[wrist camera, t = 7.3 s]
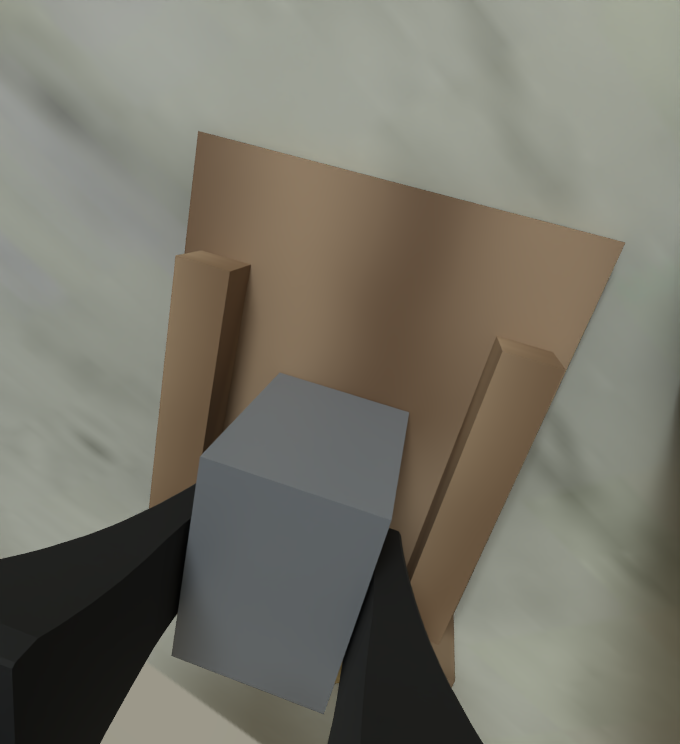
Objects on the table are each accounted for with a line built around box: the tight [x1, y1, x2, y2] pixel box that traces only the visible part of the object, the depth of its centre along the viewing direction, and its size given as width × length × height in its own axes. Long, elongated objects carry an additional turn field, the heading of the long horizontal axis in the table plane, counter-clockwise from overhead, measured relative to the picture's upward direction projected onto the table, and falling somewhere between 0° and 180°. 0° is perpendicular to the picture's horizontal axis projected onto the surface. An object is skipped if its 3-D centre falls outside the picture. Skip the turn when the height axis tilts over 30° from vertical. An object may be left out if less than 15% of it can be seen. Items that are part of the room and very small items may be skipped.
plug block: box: [172, 373, 409, 714], centre depth 13 cm, size 4×6×5 cm, turn 166°
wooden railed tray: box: [149, 131, 625, 688], centre depth 13 cm, size 11×14×4 cm
